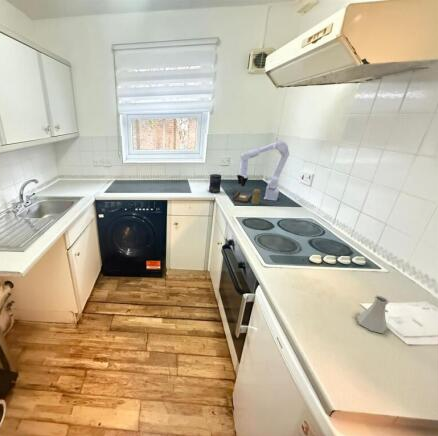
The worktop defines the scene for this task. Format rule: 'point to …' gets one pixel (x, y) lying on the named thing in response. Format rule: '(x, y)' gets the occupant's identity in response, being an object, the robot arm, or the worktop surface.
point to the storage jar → (215, 183)
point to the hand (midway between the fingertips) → (241, 184)
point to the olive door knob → (256, 197)
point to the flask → (375, 315)
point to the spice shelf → (241, 197)
